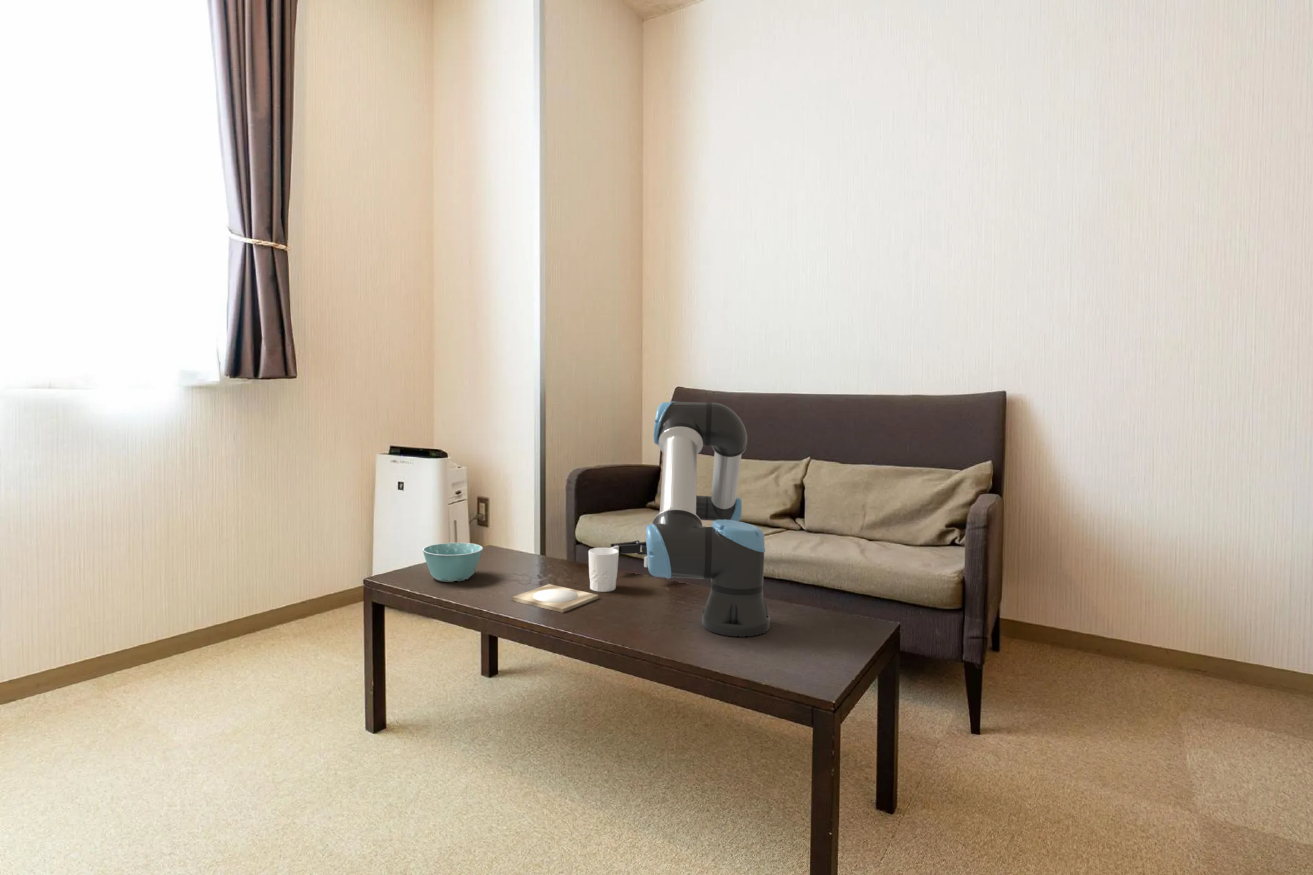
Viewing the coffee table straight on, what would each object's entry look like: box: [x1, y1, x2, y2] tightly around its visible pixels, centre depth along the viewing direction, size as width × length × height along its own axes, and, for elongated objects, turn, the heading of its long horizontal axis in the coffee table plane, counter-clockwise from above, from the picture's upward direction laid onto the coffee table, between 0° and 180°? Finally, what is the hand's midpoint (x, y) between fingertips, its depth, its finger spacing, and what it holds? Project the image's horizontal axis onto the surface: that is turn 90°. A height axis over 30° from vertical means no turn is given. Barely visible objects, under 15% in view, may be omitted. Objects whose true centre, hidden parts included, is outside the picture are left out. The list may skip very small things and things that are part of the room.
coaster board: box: [511, 583, 599, 613], centre depth 176 cm, size 16×14×1 cm
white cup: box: [588, 547, 620, 593], centre depth 186 cm, size 8×8×10 cm
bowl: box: [422, 542, 484, 583], centre depth 193 cm, size 16×16×8 cm
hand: (624, 558), depth 195 cm, fingers open, 13 cm apart
